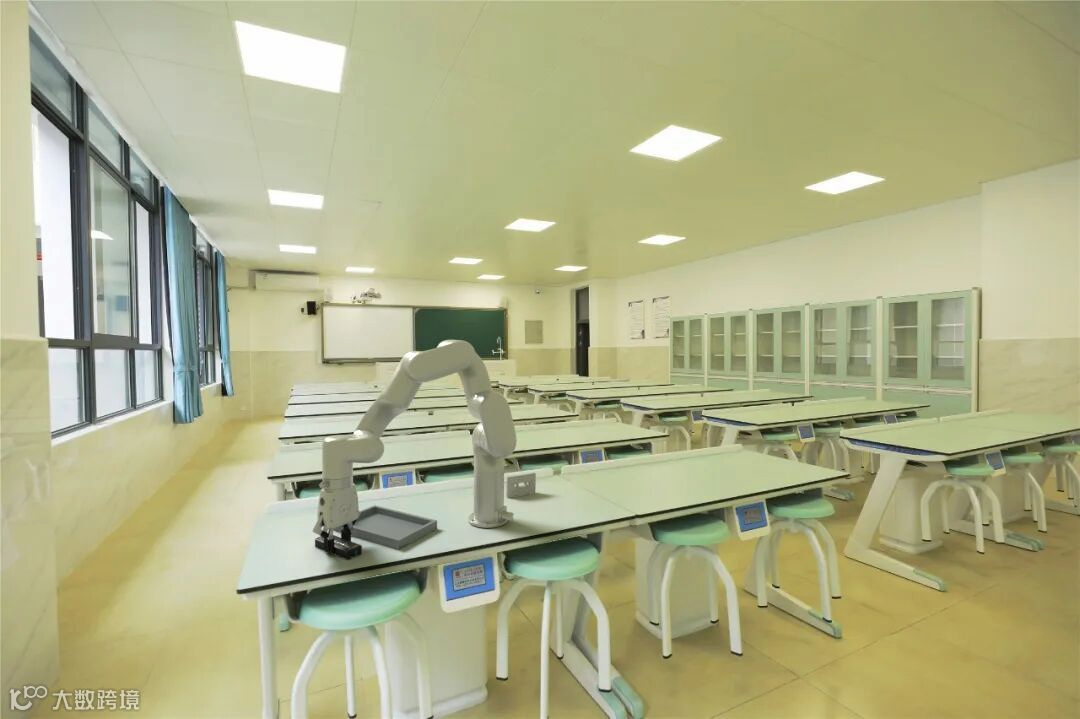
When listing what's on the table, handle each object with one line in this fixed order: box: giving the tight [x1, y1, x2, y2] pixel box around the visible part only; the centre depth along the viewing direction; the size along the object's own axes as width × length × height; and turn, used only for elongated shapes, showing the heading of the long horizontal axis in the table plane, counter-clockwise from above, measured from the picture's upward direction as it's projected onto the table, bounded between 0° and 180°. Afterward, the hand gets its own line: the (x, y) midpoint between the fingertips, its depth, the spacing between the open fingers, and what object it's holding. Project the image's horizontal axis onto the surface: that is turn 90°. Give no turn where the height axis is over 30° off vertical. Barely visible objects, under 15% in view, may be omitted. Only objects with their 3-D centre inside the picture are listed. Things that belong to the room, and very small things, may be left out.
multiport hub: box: [314, 534, 363, 561], centre depth 126 cm, size 4×14×2 cm, turn 59°
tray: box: [334, 504, 438, 551], centre depth 140 cm, size 26×16×2 cm, turn 63°
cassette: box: [505, 472, 537, 499], centre depth 173 cm, size 12×2×8 cm, turn 121°
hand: (337, 547), depth 126 cm, fingers closed on multiport hub, 4 cm apart
